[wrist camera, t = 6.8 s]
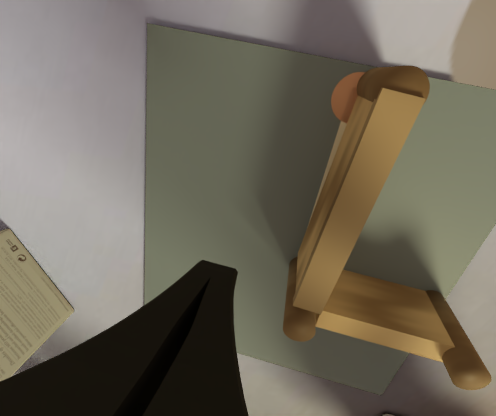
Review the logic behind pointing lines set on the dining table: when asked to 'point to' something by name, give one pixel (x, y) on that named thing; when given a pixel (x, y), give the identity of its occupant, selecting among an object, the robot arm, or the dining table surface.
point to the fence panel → (357, 176)
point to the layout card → (301, 187)
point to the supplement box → (25, 305)
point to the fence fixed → (390, 322)
